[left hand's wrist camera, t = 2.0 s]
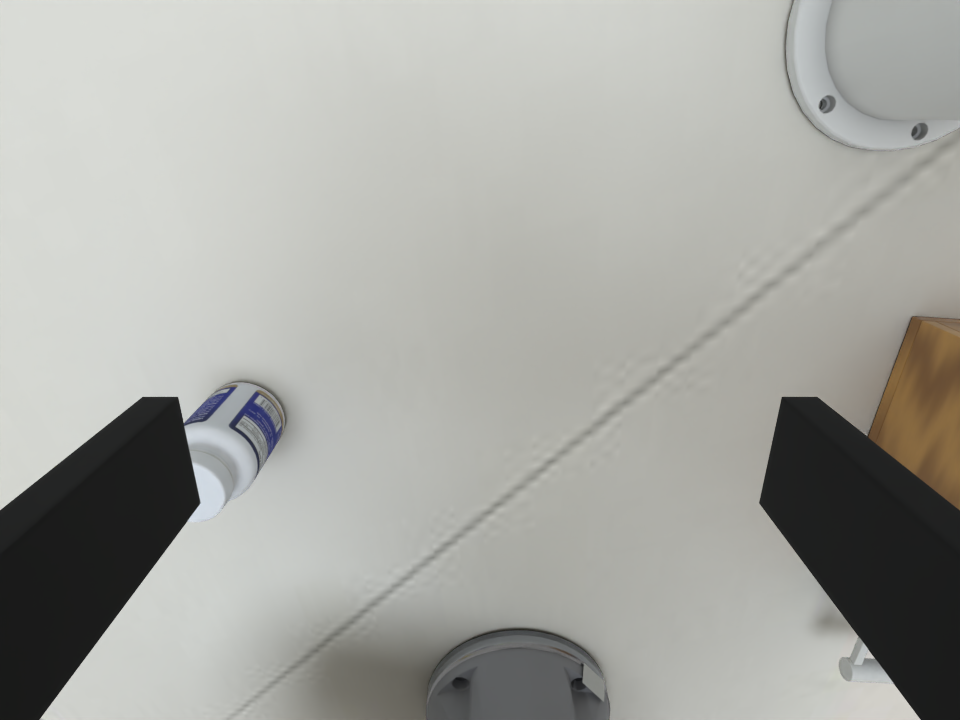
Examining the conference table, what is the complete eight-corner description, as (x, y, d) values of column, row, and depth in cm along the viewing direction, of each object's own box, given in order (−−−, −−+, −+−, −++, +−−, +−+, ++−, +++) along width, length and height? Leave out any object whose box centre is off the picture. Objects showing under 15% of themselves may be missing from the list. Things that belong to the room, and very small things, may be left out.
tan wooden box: (900, 562, 44) (1010, 678, 35) (822, 558, 44) (912, 673, 35) (1005, 322, 37) (1179, 388, 28) (912, 316, 37) (1055, 380, 28)
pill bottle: (207, 441, 40) (137, 523, 32) (209, 373, 38) (135, 442, 30) (284, 454, 41) (234, 539, 32) (290, 388, 39) (238, 460, 30)
